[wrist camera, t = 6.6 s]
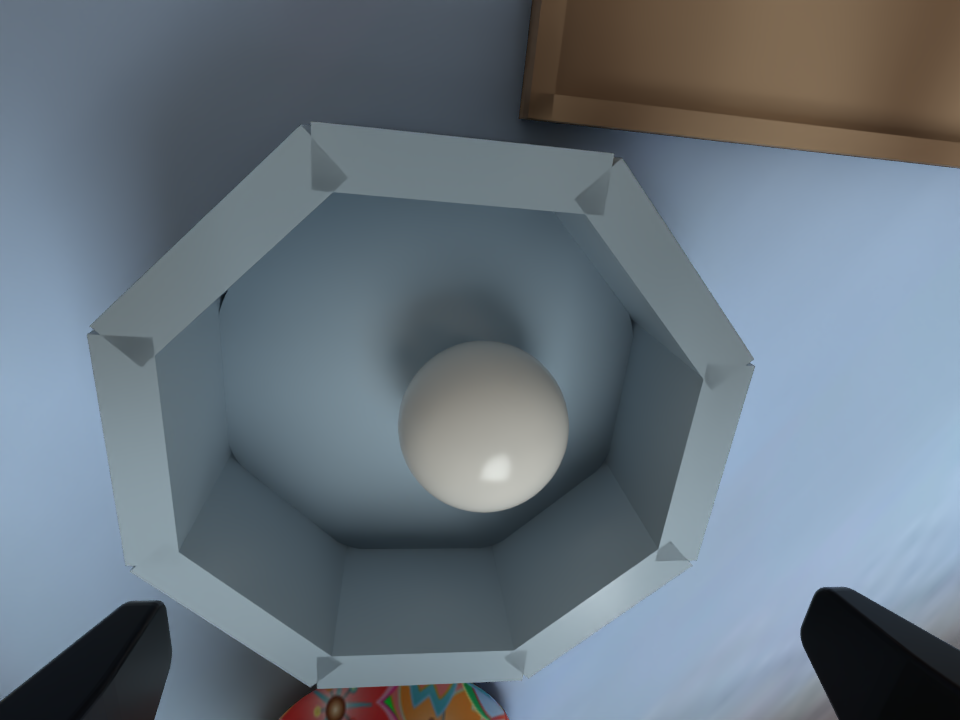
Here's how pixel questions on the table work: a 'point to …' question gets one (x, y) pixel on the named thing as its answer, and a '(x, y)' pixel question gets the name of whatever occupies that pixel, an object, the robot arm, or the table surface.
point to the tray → (755, 72)
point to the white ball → (483, 426)
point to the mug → (398, 703)
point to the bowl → (378, 395)
